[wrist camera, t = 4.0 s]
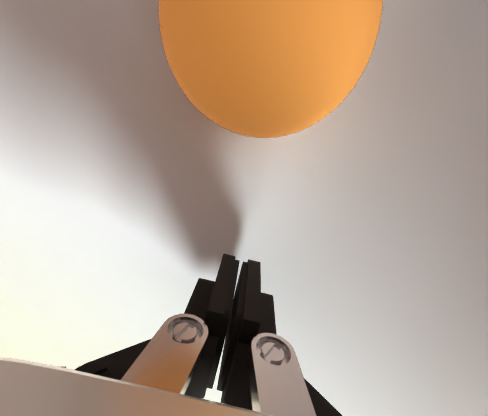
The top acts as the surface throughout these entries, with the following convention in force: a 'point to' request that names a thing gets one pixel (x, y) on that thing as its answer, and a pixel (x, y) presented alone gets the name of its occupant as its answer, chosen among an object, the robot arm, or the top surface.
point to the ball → (268, 58)
